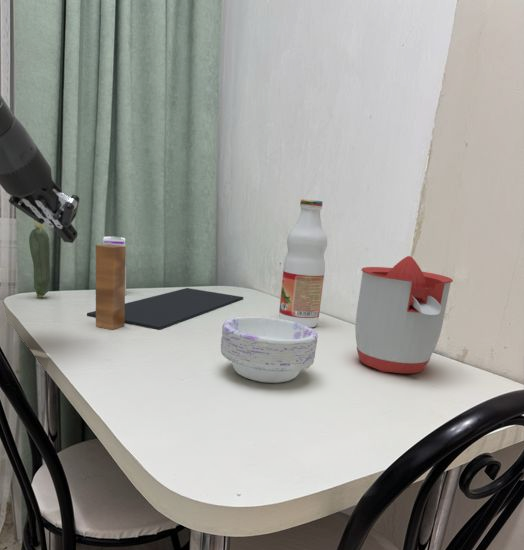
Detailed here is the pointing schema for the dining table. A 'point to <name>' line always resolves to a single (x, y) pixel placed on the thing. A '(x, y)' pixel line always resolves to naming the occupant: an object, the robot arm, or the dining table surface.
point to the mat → (173, 307)
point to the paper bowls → (268, 347)
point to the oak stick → (110, 286)
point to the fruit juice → (304, 267)
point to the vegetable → (40, 258)
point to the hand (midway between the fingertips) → (71, 238)
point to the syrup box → (120, 242)
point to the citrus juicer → (400, 316)
